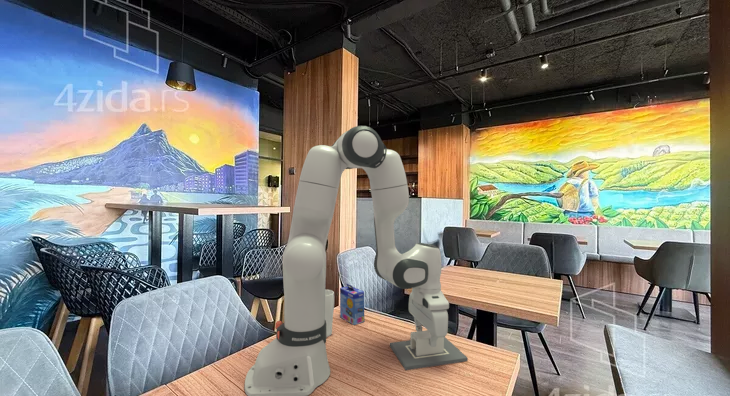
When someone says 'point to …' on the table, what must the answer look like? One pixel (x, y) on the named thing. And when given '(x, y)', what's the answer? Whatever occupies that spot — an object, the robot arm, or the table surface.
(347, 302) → the ink cartridge box
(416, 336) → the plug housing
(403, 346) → the board
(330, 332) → the drinking glass
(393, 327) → the table surface
